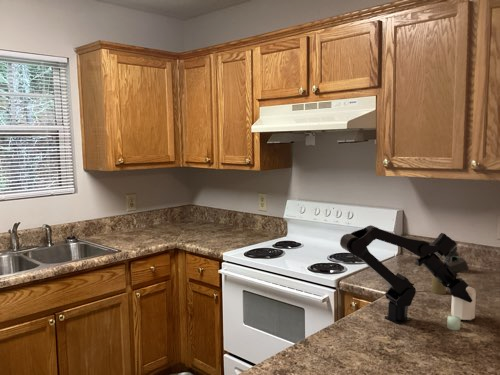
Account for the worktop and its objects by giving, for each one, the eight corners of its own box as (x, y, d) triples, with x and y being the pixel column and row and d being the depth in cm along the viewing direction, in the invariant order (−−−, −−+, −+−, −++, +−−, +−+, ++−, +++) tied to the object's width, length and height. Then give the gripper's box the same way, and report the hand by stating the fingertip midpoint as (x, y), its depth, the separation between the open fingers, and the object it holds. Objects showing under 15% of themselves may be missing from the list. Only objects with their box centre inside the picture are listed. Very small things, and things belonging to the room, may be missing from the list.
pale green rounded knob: (455, 331, 147) (456, 321, 147) (444, 327, 150) (445, 317, 150) (462, 328, 149) (463, 318, 149) (451, 324, 152) (452, 314, 152)
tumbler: (476, 320, 154) (478, 292, 153) (455, 319, 154) (456, 291, 154) (469, 312, 160) (470, 285, 160) (449, 311, 161) (450, 284, 160)
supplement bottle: (459, 273, 212) (460, 248, 211) (443, 271, 215) (444, 247, 213) (457, 269, 219) (458, 245, 218) (442, 268, 221) (443, 244, 220)
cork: (433, 288, 190) (434, 263, 189) (448, 291, 186) (449, 265, 185) (428, 292, 185) (429, 266, 184) (443, 295, 181) (445, 269, 180)
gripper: (463, 257, 147) (496, 291, 146) (445, 244, 165) (475, 275, 165) (437, 280, 148) (470, 313, 148) (422, 265, 167) (452, 294, 166)
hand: (467, 298), depth 157 cm, fingers closed on tumbler, 7 cm apart
